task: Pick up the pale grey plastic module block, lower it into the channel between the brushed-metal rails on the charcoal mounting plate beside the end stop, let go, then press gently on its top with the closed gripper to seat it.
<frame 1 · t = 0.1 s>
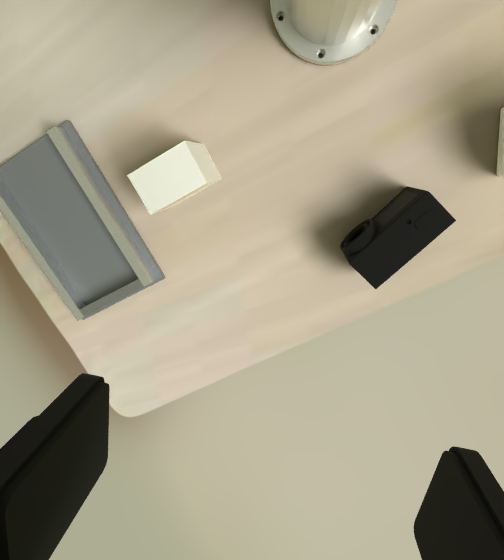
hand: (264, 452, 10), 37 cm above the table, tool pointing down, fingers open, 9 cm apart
rail guides: (78, 228, 48), resting on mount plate
module block: (188, 175, 44), on the table
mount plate: (78, 228, 48), on the table
digital camera: (381, 226, 44), on the table
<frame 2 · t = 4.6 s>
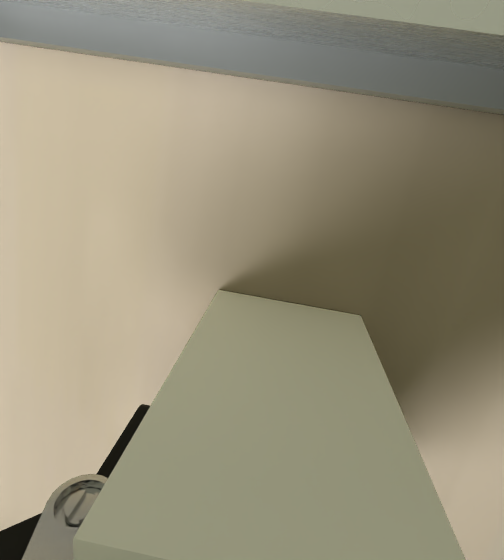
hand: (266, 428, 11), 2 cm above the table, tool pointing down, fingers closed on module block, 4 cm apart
module block: (270, 395, 12), on the table, touching gripper
when the fingers open (3 cm above the table, at t = 11.0 s): module block drops 1 cm, resting on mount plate.
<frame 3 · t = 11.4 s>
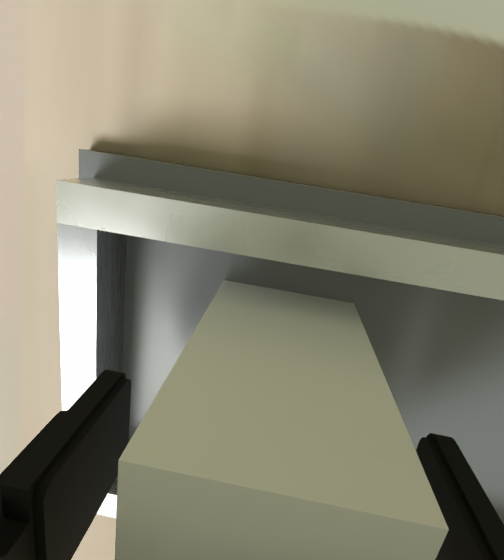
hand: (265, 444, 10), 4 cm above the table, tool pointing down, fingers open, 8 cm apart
rail guides: (362, 385, 14), resting on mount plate
module block: (271, 377, 14), point 1 cm above the table, touching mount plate
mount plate: (362, 385, 14), on the table
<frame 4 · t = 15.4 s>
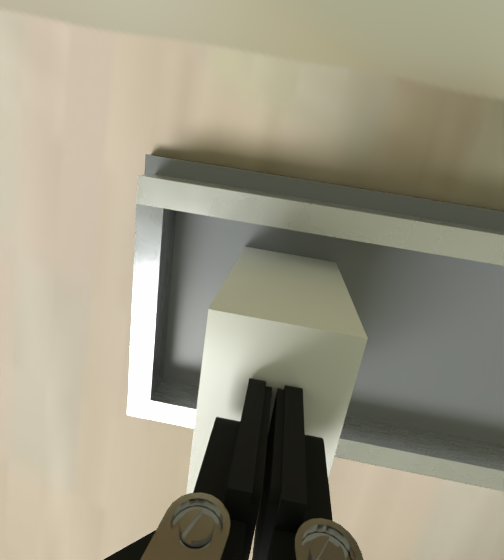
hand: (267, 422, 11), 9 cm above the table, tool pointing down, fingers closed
rail guides: (344, 325, 19), resting on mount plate
module block: (277, 318, 19), point 1 cm above the table, touching gripper, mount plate
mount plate: (344, 325, 19), on the table
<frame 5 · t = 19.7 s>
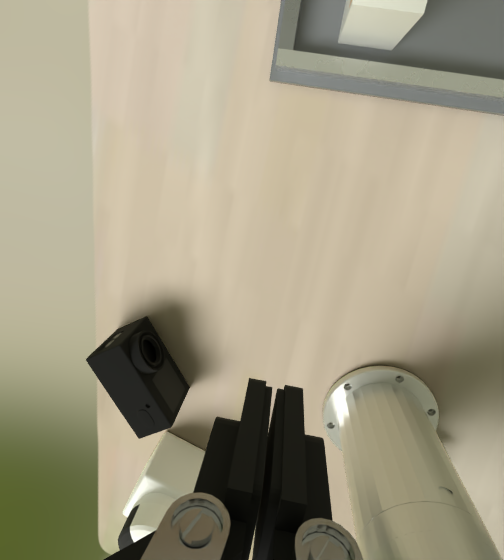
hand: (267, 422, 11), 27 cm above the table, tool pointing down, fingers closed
rail guides: (417, 5, 30), resting on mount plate
medicine bottle: (180, 459, 48), on the table
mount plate: (417, 5, 30), on the table
digital camera: (159, 356, 43), on the table
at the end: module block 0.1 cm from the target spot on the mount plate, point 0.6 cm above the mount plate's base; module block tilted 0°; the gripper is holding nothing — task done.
